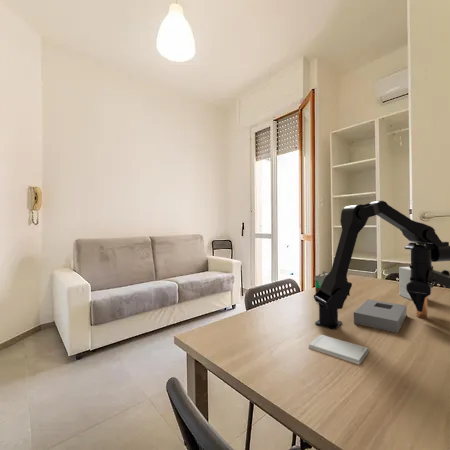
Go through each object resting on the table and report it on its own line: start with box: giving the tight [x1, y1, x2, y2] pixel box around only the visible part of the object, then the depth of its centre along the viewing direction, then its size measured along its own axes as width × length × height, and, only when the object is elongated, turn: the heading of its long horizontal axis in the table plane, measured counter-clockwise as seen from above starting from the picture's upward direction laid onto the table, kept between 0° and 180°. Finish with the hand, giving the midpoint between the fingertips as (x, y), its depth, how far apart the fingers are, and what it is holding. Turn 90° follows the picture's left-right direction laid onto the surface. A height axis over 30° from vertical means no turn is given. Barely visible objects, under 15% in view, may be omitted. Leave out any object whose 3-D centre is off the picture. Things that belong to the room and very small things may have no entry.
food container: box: [314, 270, 330, 294], centre depth 114 cm, size 12×6×10 cm, turn 143°
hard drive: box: [308, 334, 370, 366], centre depth 67 cm, size 2×8×12 cm
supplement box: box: [398, 266, 429, 301], centre depth 110 cm, size 7×7×13 cm
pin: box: [415, 297, 428, 319], centre depth 88 cm, size 3×3×9 cm
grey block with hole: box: [353, 299, 408, 334], centre depth 87 cm, size 18×12×4 cm, turn 138°
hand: (421, 307), depth 88 cm, fingers open, 9 cm apart
